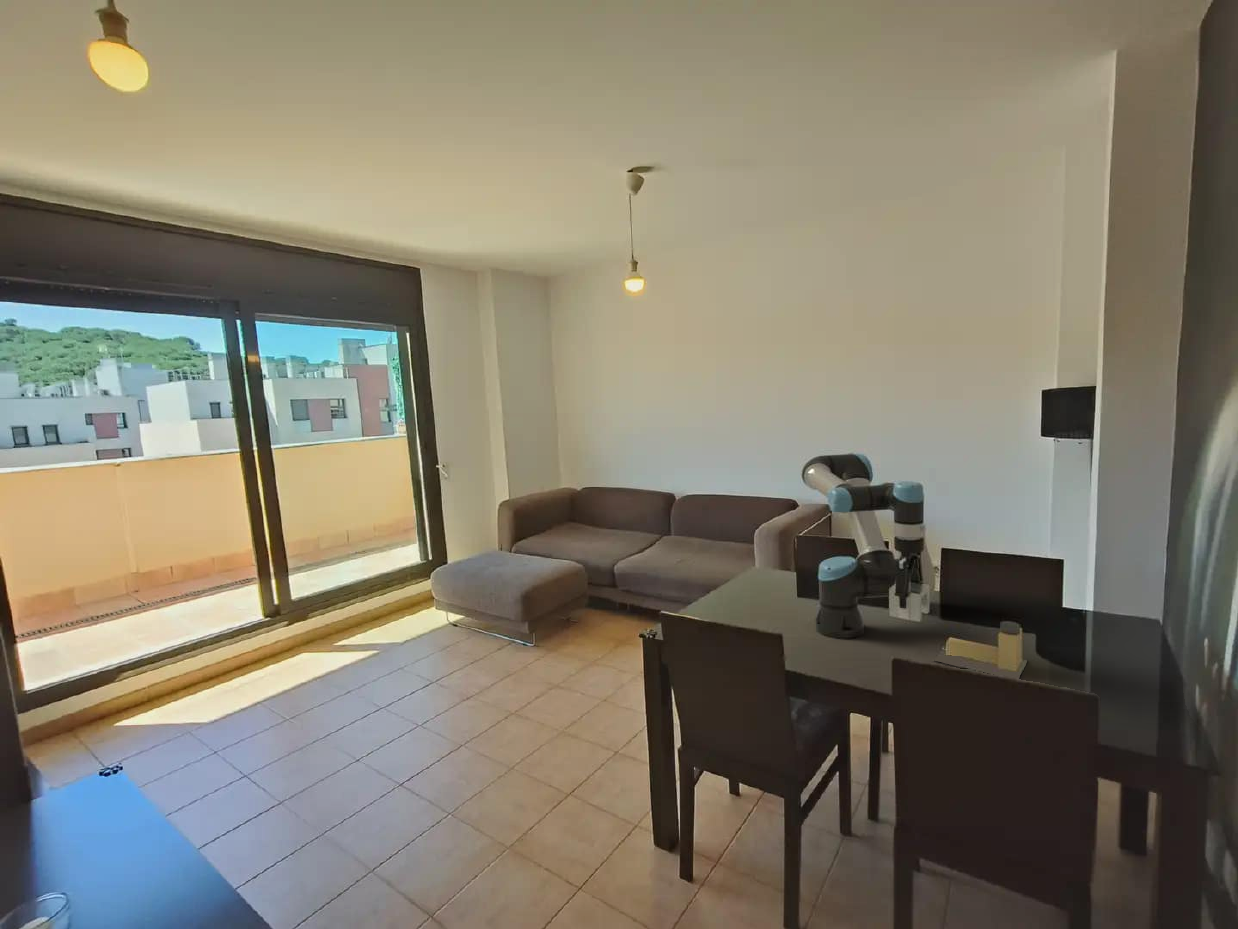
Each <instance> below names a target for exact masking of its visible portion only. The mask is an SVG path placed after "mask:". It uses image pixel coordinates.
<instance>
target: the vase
mask: <svg viewBox="0 0 1238 929" xmlns="http://www.w3.org/2000/svg"><path fill="white" fill-rule="evenodd" d="M923 527H925V528H926V524H925V523H923ZM922 538H923V539H924V550H923V551H922V552H921V565H922V576H923V581H922V583H924V584H927V585H929V603H931V600H932V598H933V597H934V594H935V589H936V573H935V569H934V565H933V562H932V558H931V557H930V554H929V549H928V546H927V541H926V540H927V539H926V529H925V530H924V535H923V536H922ZM900 557H901V552H899V551H897V550H896V553H895V555H894V558H895V559H900Z"/></svg>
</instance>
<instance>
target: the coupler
mask: <svg viewBox="0 0 1238 929" xmlns="http://www.w3.org/2000/svg"><path fill="white" fill-rule="evenodd" d="M999 626H1000V631H999V633H998V634H997V641H998V642H997V646H994V645H988V644H984V643H979V642H974V641H970V640H965V639H960V638H955V637H951V636H950V637H949V638H947V640H946V642H945V643H946V644H945V645H946V655H952V656H963V657H967V658H973V659H975V660H980V661H983V662H990V663H994V664H997V665H998V668H999V669H1007V670H1011V671H1016V670H1017V669H1018V667H1019V665H1020V663H1021V662H1022V659H1023V628H1022V627H1021V624H1019V623H1017V622H1015V621H1009V620H1006V621H1005V620H1004V621H1003V620H1002V621H1000V623H999Z"/></svg>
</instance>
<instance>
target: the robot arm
mask: <svg viewBox="0 0 1238 929" xmlns="http://www.w3.org/2000/svg"><path fill="white" fill-rule="evenodd" d="M873 477H874V473H873V467H872V464H871V461H870V460H869V458H868V457H867V456H866V455H865V454H862V453H854V452H853V453H852V452H850V453H845V454H843V453H842V454H829V455H825V454H824V455H818V456H815V457H813V458H811V459H810V460H808V461H807V462H806V463H805V464H804V466H803V467H802V470H801V479H802V481H803V483H804V484H805V485H806V486H807V487H808V488H809V489H811V490H815V491H818V492H819V493H820V494H822V495H823V496H824V497H826V498H827V503H828V507H829V509H830V511H831V512H833V513H834V514H836V513H838V514H840V513H842V514H847V517H848V520H849V523H850V527H851V530H852V533H853V537H854V540H855V541H854V542H855V544H856V547H857V552H858V555H857V557H856V558H855V557H852V556H843V555H842V556H834V557H830V558H827V559H824V560H823V561H821V562H820V563H819V565H818V575H817V579H818V589H819V592H818V593H819V606H818V610H817V613H816V616H815V620H814V629H815V631H816V632H818V633H819V634H820V635H823V636H826V637H829V638H835V639H853V638H857V637H861V636H862V635H863V634H864V632H865V623H864V620H863V618H862V616H861V613H860V609H859V605H858V602H859V601H858V600H859V599H868V598H870V599H871V598H889V589H890V588H891V587H892V586H893V585H895V584H896V589H895V596H898V616H899V619H902V620H903V619H904V620H908V621H910V620H909V619H910V610H909V596H908V591H909V584H910V582H914V583H920V584H924V583H922V581H923V576H922V565H921V552H922V551H923V550H924V539H923V538H922V536H923V535H924V530H925V531H926V529H927V528H926V526H925V527H923V524H924V516H925V514H924V512H925V511H924V507H925V506H924V505H925V504H924V502H925V501H924V500H925V494H924V486H923V485H922V483H920V482H915V481H898V482H896V483H893V482H887V481H886V482H882V483H879V484H878V485H874V484H873V485H871V483H872V481H873ZM875 511H893V535H894V536H893V537H894V539H893V540H894V542H893V543H894V544H893V545H894V550H895V551H896V552H897V551H899V552H901V557H900V559H895V555H894V553H893V551H892V550H890V549H888V548H887V547H886V544H885V541H884V537H883V535H882V532H881V527H880V525H879V522H878V519H877V516H876V512H875Z"/></svg>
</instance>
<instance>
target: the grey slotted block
mask: <svg viewBox="0 0 1238 929" xmlns="http://www.w3.org/2000/svg"><path fill="white" fill-rule="evenodd" d="M895 589H896V584H895V585H893V586H892V587H891V588H890V589H889V597H888V602H889V604H888V606H889V611H888V612H889V617H894V618H899V616H898V596H895ZM908 596H909V610H910V619H909V620H908V621H913V622H919V623H920V622H921V621H922V620H923V618H922V617H923V614H926V615H927V614H929V612H930V602H929V585H927V584H920V583H914V582H910V584H909V591H908ZM899 619H900V618H899Z"/></svg>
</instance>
